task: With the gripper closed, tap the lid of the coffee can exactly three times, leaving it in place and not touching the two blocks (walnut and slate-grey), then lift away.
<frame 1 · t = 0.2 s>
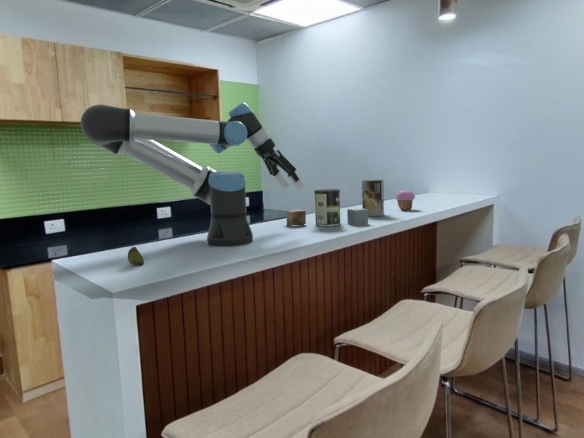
hand: (293, 187, 161), 16 cm above the table, tool tilted 35°, fingers open, 13 cm apart
coffee can: (327, 225, 170), on the table
slate block: (357, 224, 169), on the table
cupcake: (405, 210, 208), on the table
coffee box: (373, 215, 193), on the table
walnut block: (296, 225, 172), on the table
lime: (137, 265, 112), on the table
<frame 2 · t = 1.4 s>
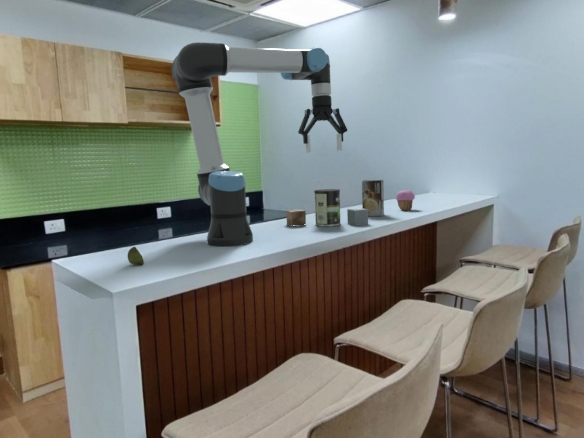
hand: (324, 151, 165), 29 cm above the table, tool pointing down, fingers open, 13 cm apart
nothing on the table moved.
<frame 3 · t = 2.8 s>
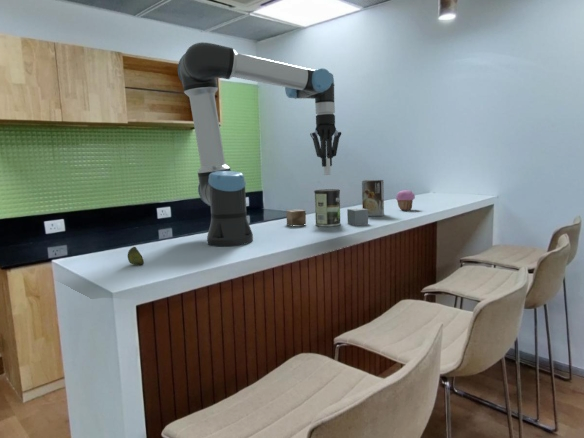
hand: (327, 174, 167), 20 cm above the table, tool pointing down, fingers closed
nothing on the table moved.
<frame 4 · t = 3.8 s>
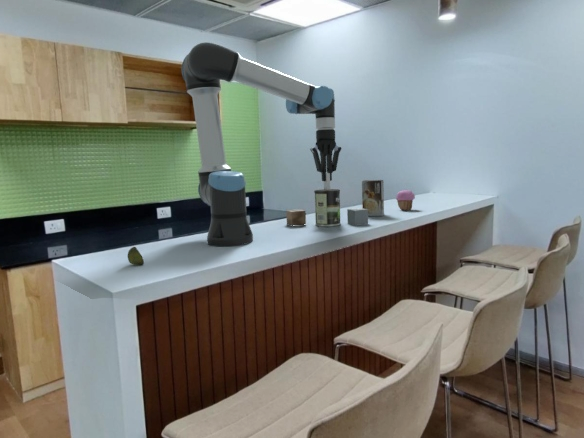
hand: (327, 189, 168), 14 cm above the table, tool pointing down, fingers closed
coffee can: (327, 225, 170), on the table, touching gripper
everything else where it was.
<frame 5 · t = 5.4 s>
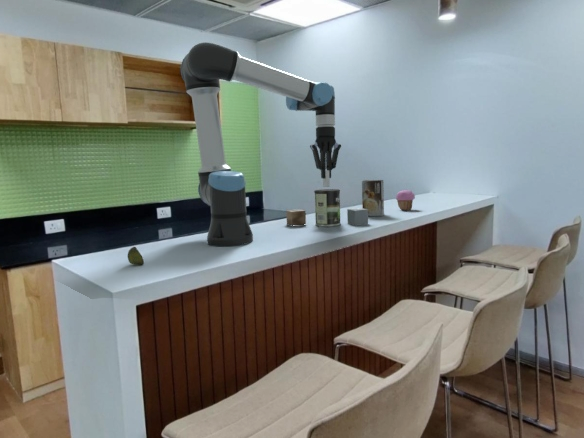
hand: (326, 186, 168), 15 cm above the table, tool pointing down, fingers closed
coffee can: (327, 225, 170), on the table
everything else where it was.
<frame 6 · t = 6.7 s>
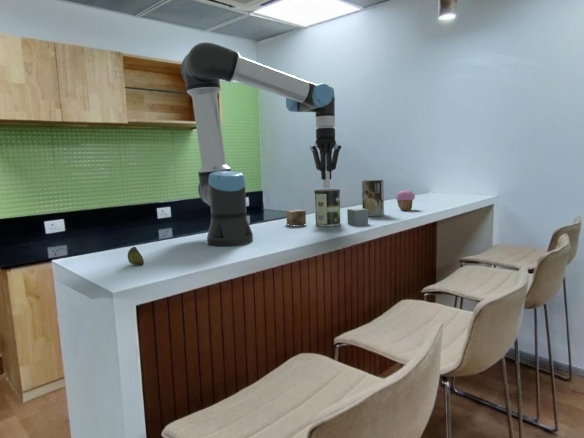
hand: (326, 187, 168), 15 cm above the table, tool pointing down, fingers closed
nothing on the table moved.
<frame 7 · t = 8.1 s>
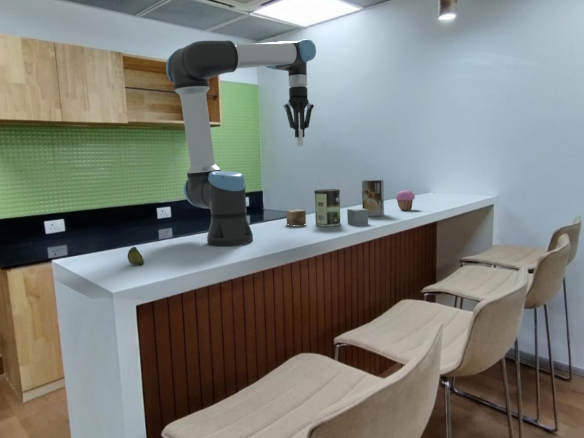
hand: (300, 145, 175), 32 cm above the table, tool pointing down, fingers closed
nothing on the table moved.
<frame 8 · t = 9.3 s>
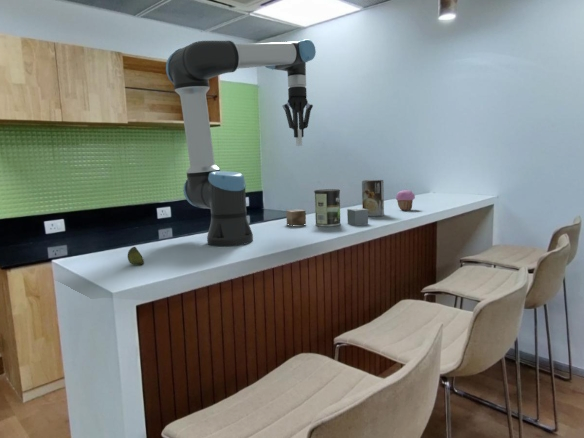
hand: (299, 145, 175), 32 cm above the table, tool pointing down, fingers closed
nothing on the table moved.
at the end: coffee can moved 0.2 cm from its start; coffee can tilted 0°; slate block moved 0.1 cm from its start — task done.
